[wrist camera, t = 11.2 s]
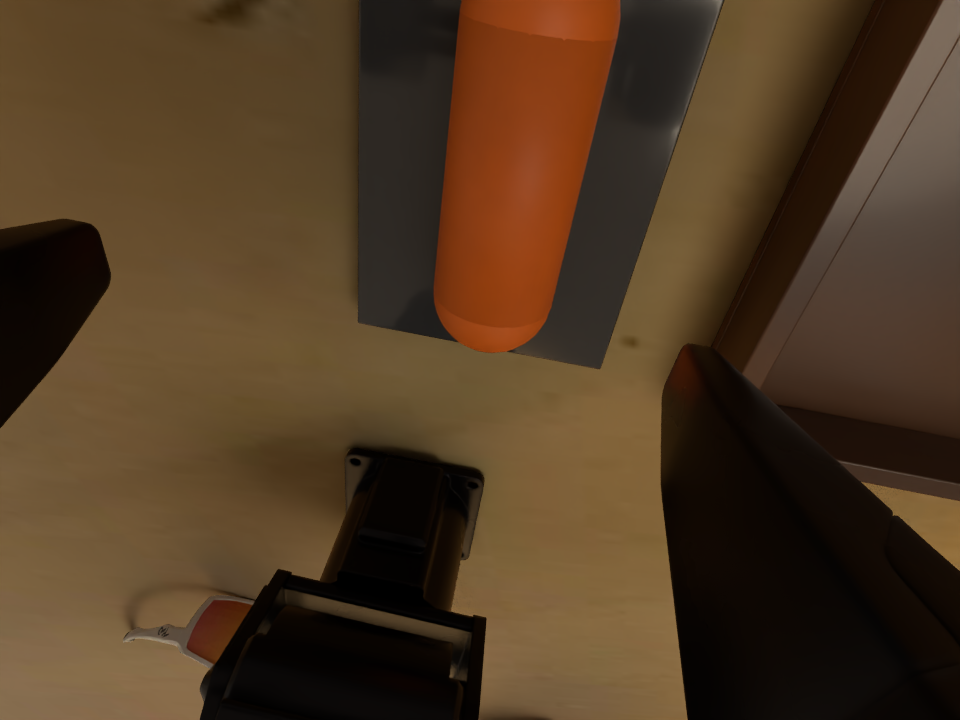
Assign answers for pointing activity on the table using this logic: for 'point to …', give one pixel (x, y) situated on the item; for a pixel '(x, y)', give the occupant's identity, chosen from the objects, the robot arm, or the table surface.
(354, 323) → the table surface
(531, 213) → the orange capsule
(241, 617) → the sunglasses
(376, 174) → the slate board
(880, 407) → the tray
